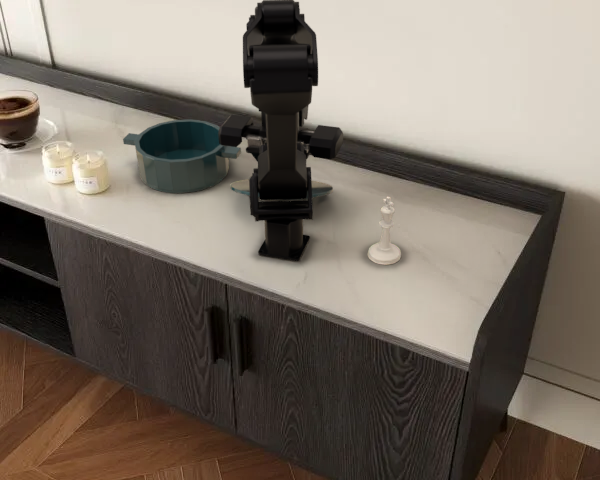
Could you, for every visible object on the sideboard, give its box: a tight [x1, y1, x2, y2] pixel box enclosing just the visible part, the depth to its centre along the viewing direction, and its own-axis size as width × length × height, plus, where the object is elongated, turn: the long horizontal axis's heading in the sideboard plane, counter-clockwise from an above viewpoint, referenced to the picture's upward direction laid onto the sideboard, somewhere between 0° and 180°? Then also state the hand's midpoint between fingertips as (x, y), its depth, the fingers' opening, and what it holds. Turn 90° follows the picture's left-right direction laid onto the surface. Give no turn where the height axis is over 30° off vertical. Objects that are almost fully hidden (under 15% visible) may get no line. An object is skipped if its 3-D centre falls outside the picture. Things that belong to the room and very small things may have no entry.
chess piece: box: [367, 195, 402, 266], centre depth 111 cm, size 5×5×10 cm
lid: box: [229, 178, 334, 201], centre depth 123 cm, size 17×17×5 cm
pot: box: [122, 119, 242, 194], centre depth 133 cm, size 16×21×6 cm
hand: (282, 184), depth 123 cm, fingers closed on lid, 3 cm apart
